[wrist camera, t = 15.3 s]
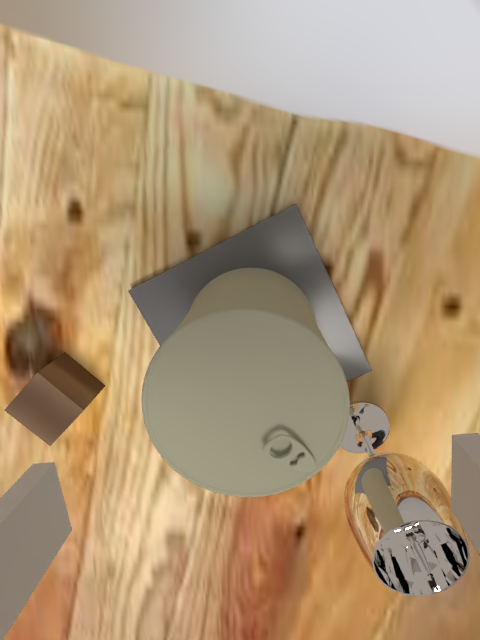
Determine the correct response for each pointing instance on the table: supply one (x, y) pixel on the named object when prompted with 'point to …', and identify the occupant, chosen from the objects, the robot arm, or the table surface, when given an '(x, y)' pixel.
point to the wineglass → (400, 512)
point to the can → (246, 389)
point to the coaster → (256, 252)
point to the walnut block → (54, 398)
